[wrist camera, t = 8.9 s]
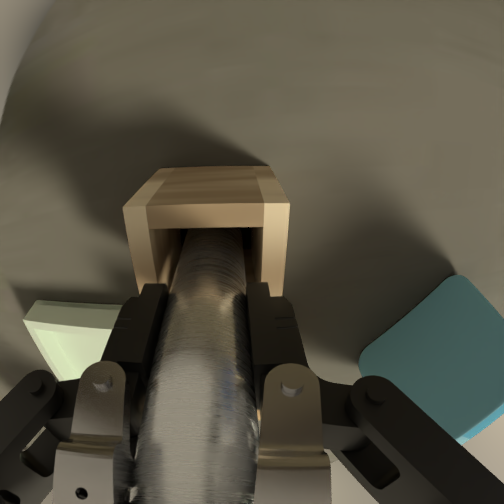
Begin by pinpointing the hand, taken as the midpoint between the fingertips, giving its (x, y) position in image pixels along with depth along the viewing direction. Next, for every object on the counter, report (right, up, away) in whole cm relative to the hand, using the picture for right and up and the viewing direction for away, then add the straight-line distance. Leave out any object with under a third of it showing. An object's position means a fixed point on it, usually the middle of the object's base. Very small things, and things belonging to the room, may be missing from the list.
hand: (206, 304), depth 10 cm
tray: (-11, -8, +12) cm, 18 cm away
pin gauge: (0, +2, +4) cm, 5 cm away
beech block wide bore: (-1, +4, +7) cm, 8 cm away
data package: (+16, -5, +13) cm, 21 cm away
